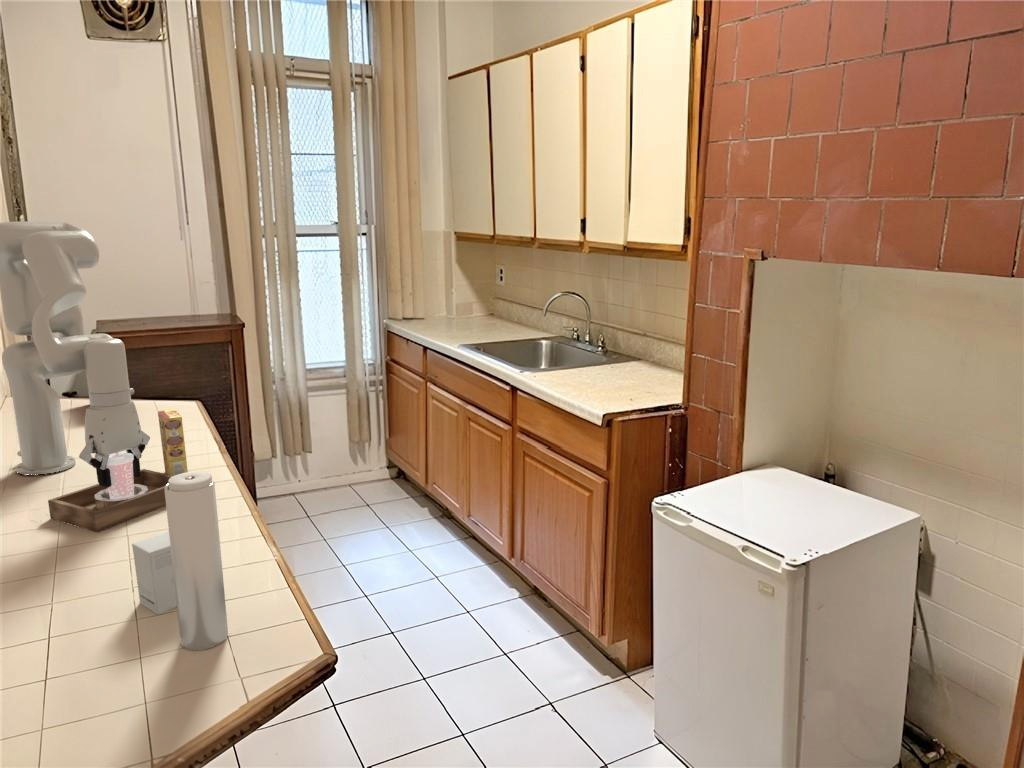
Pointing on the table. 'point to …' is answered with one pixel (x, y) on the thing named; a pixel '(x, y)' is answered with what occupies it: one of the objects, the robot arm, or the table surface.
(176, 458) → the candy box
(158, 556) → the skincare box
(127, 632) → the table surface
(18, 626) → the table surface
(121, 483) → the beverage cup
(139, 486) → the socket ring
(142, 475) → the walnut box
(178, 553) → the white tall cylinder
